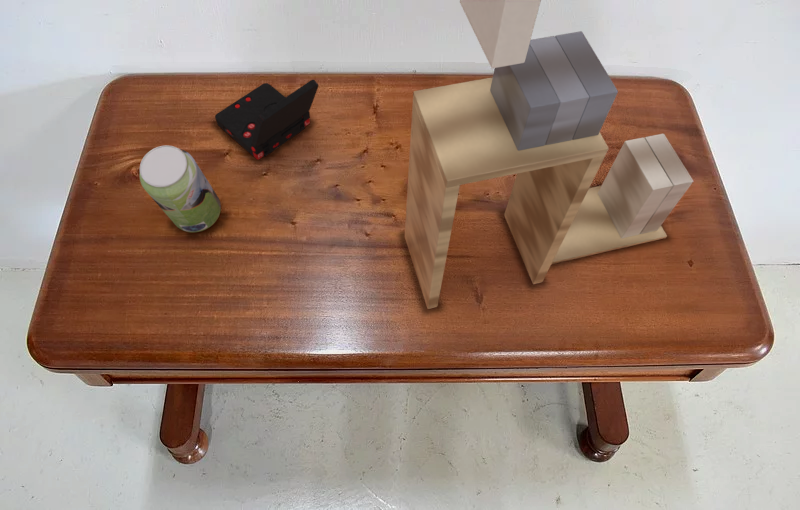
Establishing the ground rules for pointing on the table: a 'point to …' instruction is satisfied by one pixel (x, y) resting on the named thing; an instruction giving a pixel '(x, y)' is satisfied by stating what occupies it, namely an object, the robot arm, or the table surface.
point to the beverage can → (179, 188)
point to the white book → (502, 28)
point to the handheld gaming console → (267, 117)
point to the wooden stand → (508, 151)
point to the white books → (628, 200)
